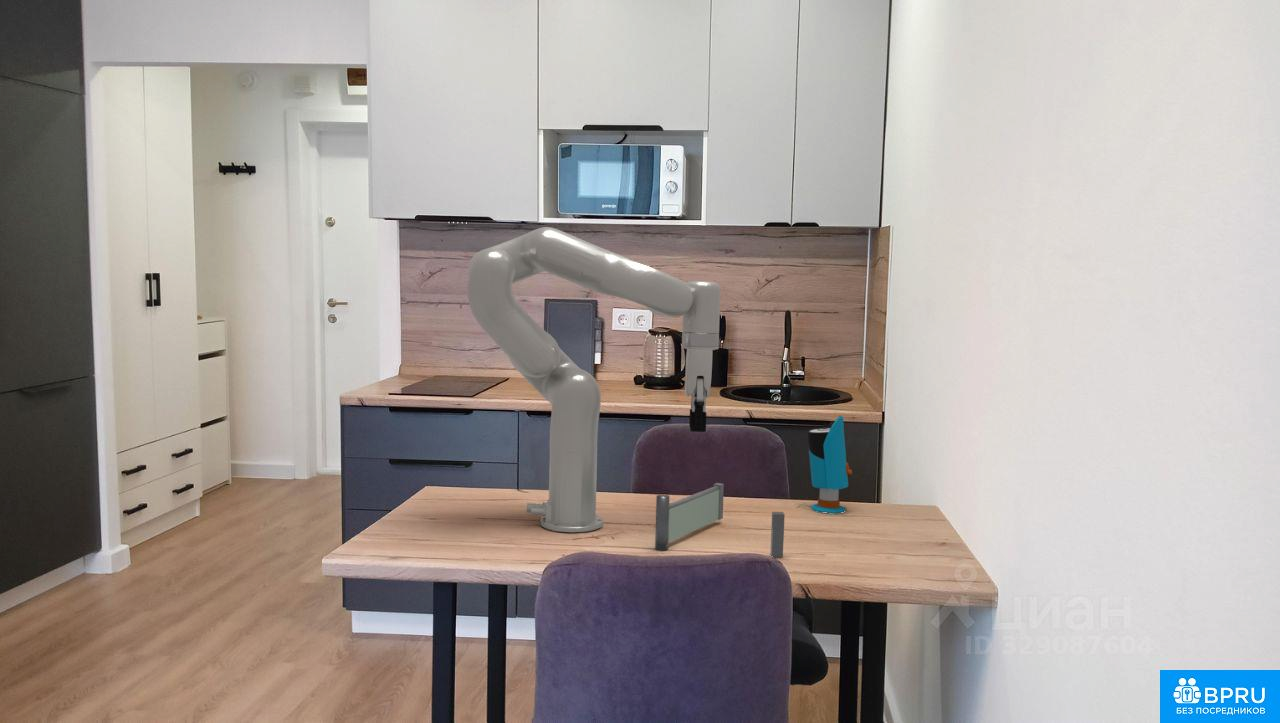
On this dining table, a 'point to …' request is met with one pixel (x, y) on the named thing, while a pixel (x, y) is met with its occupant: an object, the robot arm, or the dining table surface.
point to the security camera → (828, 465)
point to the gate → (695, 511)
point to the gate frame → (663, 528)
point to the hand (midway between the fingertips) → (697, 428)
